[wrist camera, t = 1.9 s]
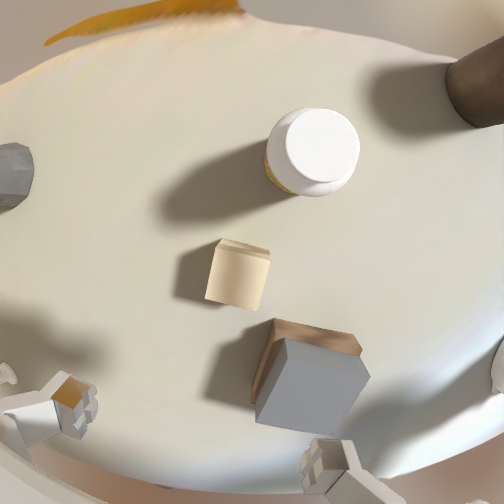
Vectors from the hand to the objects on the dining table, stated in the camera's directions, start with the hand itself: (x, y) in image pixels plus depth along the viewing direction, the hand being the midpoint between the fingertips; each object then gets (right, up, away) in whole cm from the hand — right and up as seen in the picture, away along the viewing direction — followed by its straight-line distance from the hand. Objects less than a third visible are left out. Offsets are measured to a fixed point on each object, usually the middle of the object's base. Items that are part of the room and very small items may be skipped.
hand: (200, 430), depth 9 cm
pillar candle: (+31, +28, +17) cm, 45 cm away
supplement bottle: (+6, +16, +20) cm, 26 cm away
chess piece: (-45, -17, +28) cm, 56 cm away
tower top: (+8, -8, +21) cm, 24 cm away
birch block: (+1, +5, +22) cm, 23 cm away
